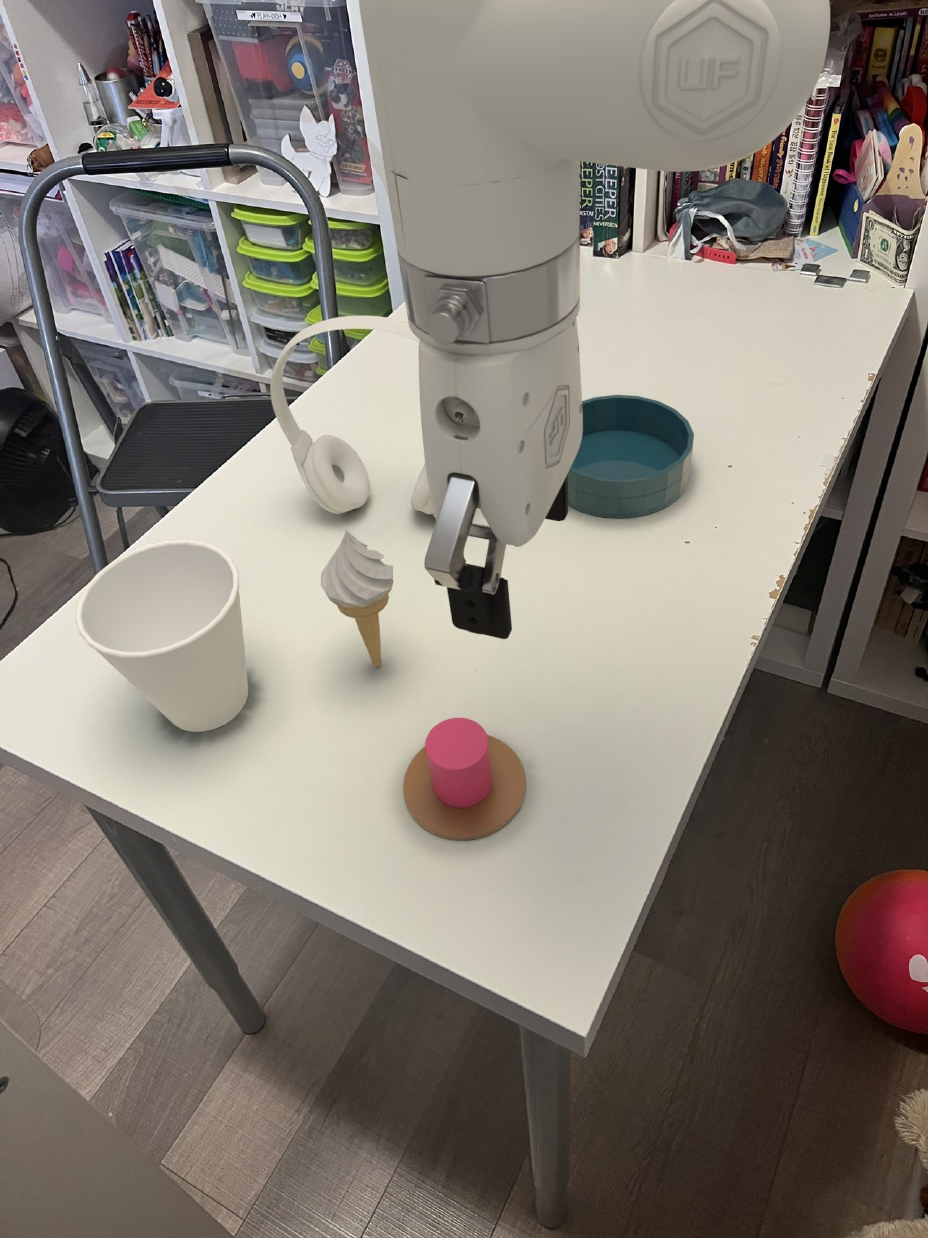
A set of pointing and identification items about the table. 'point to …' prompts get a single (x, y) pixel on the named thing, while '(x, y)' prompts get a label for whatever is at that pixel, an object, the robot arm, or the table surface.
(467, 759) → the pink cylinder block
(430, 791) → the coaster
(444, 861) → the table surface
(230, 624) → the cup
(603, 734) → the table surface
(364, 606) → the ice cream cone
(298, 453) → the headphones
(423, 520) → the table surface
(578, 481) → the bowl
